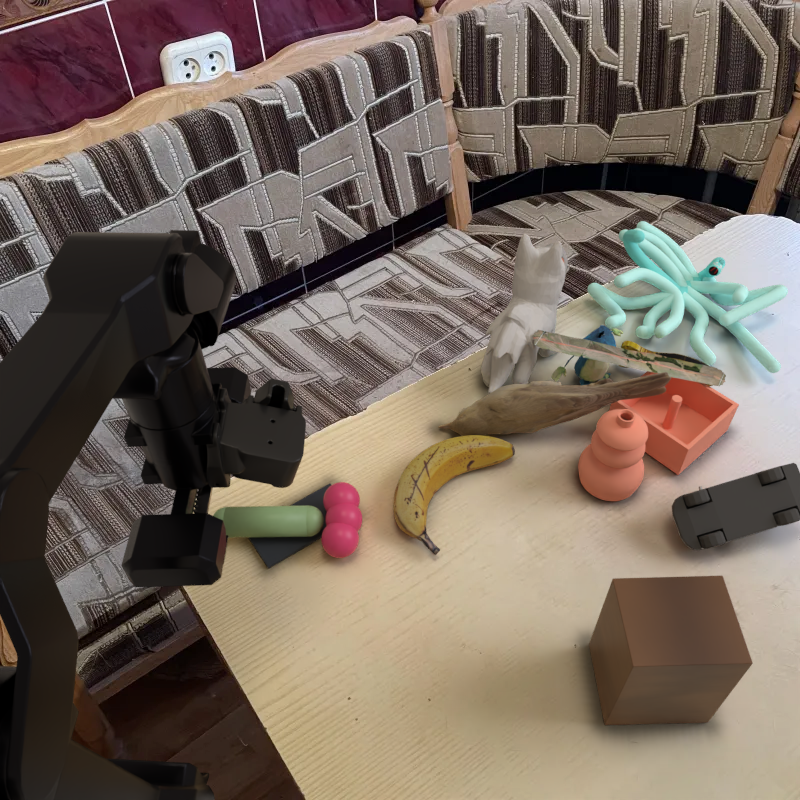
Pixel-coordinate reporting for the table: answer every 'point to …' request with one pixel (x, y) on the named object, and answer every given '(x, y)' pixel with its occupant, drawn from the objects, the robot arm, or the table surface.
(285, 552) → the placemat
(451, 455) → the fruit
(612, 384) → the sculpture
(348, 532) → the green pink knobbed rod
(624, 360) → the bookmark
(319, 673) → the table surface
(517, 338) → the toy
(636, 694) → the block
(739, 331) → the tentacled creature figurine
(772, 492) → the toy car
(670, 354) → the decorative item
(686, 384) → the pottery
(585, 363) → the toy figurine
